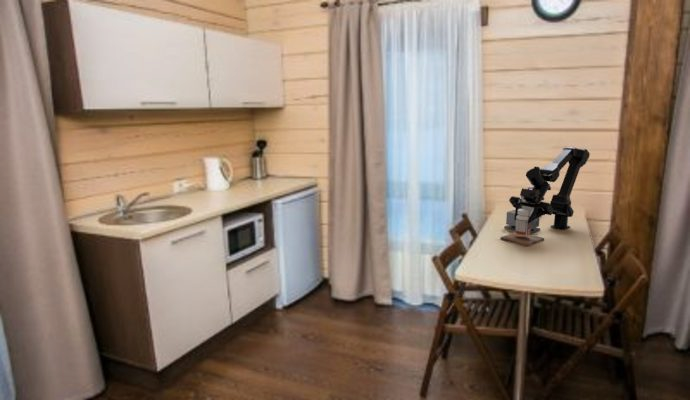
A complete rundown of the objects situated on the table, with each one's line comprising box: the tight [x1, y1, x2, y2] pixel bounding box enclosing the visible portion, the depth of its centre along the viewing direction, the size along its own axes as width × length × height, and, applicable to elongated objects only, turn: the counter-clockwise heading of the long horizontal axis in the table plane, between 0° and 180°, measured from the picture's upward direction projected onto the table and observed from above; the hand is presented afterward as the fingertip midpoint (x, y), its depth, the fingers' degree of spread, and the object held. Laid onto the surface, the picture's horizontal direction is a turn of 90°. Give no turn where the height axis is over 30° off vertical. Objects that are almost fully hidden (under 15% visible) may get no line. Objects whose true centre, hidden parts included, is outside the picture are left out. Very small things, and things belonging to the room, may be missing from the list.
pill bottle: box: [514, 209, 531, 237], centre depth 200 cm, size 6×6×11 cm
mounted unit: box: [503, 209, 541, 235], centre depth 216 cm, size 9×13×8 cm
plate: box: [500, 232, 545, 247], centre depth 202 cm, size 13×13×1 cm
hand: (521, 221), depth 199 cm, fingers closed on pill bottle, 6 cm apart
